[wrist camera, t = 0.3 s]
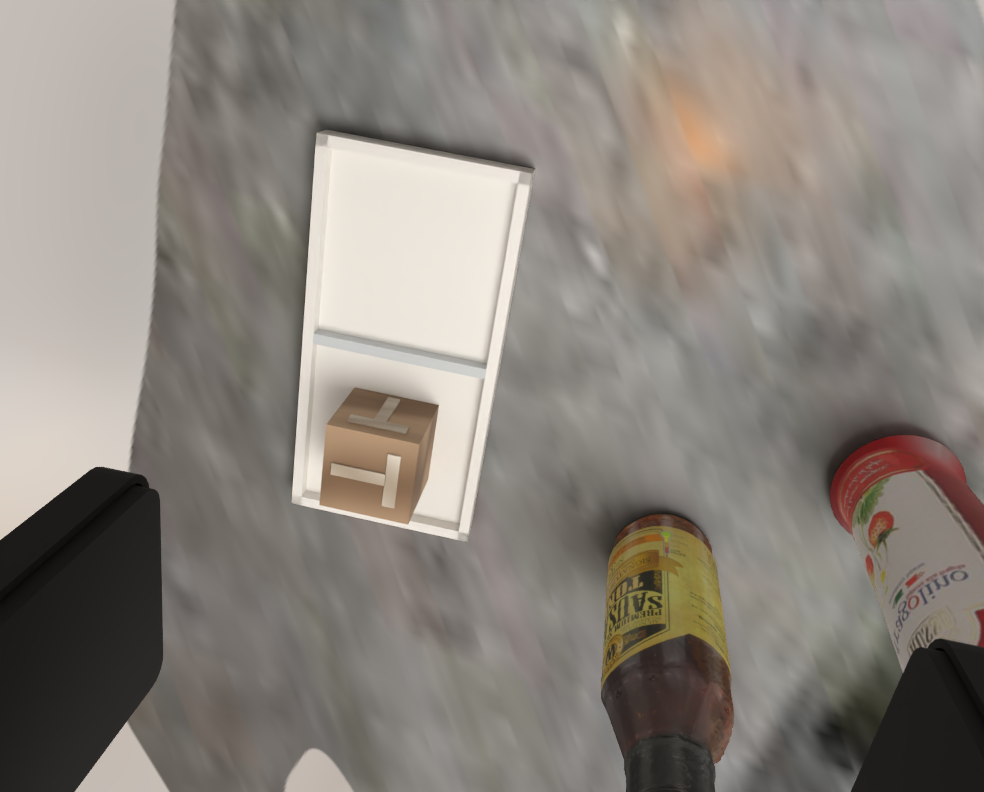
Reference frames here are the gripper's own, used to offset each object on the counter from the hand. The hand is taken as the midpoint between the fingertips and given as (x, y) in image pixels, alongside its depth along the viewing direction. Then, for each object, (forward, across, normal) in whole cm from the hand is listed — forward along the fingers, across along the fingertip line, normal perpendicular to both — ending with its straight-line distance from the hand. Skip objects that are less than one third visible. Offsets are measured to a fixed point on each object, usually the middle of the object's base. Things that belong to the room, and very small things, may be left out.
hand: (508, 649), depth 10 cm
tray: (+35, +9, +10) cm, 37 cm away
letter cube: (+34, +9, +15) cm, 39 cm away
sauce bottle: (+35, -8, +20) cm, 41 cm away
